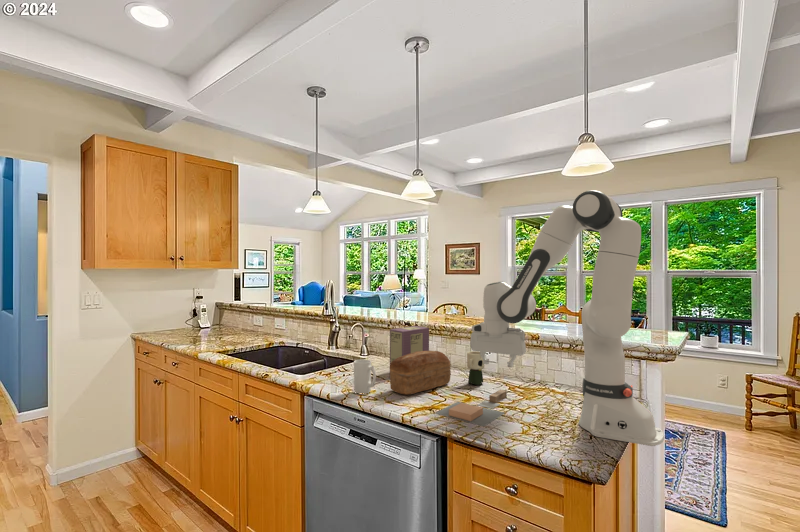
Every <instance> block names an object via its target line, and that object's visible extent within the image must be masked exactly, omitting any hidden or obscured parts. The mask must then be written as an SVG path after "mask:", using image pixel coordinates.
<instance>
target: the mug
mask: <svg viewBox="0 0 800 532" xmlns="http://www.w3.org/2000/svg"><path fill="white" fill-rule="evenodd" d="M372 375H373V377H372ZM376 380H377V374H376V369H375V366H374V365H372V361H371V359H364V358H363V359H361V358H360V359H355V360H354V361H353V386H354V388H353V389H354V391H355V392H356V393H368V394H370V393H371V392H372V391H371V389H372V388H374V387H375V384H376ZM370 391H371V392H370ZM355 392H354V393H355ZM369 392H370V393H369ZM356 393H355V394H356Z"/></svg>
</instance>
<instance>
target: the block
mask: <svg viewBox="0 0 800 532" xmlns="http://www.w3.org/2000/svg"><path fill="white" fill-rule="evenodd" d="M464 403H465V402H462V403H460V404H458V405H456V406H454V407H452V408H450V409H449V416H453V417H456V418H460V419H464V420H468V421H472V420H474V419H475V418H477V417H479V416H481V415H482V414H483V408H484V407H483V408H481V407H482V406H478V405H474V406H472V405H473V404H470V405H468V404H469V403H466V404H464ZM477 406H478V407H477Z"/></svg>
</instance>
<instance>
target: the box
mask: <svg viewBox="0 0 800 532" xmlns="http://www.w3.org/2000/svg"><path fill="white" fill-rule="evenodd" d="M416 351H430V328H429V327H425V326H418V325H412V326H411V325H410V326H405V327H398V328H397V327H396V328H391V329H389V365H390V364H391V362H392V361H393V360H395V359H396V358H398V357H401V356H404V355H407V354H410V353H413V352H416Z"/></svg>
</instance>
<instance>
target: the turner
mask: <svg viewBox="0 0 800 532" xmlns="http://www.w3.org/2000/svg"><path fill="white" fill-rule="evenodd" d="M488 398H489V399H488V400H484V401H482V402H480V403H478V404H477V406H478V407H483V408H487V409H491V410H495V408H498V407H499V406H500V405H501V403H499V402H501V401H502V400H505V399H507V398H508V397H507V390H504V389H499V390H497V391H495V392H493V393H491V394H490V395H489V396H488Z"/></svg>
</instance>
